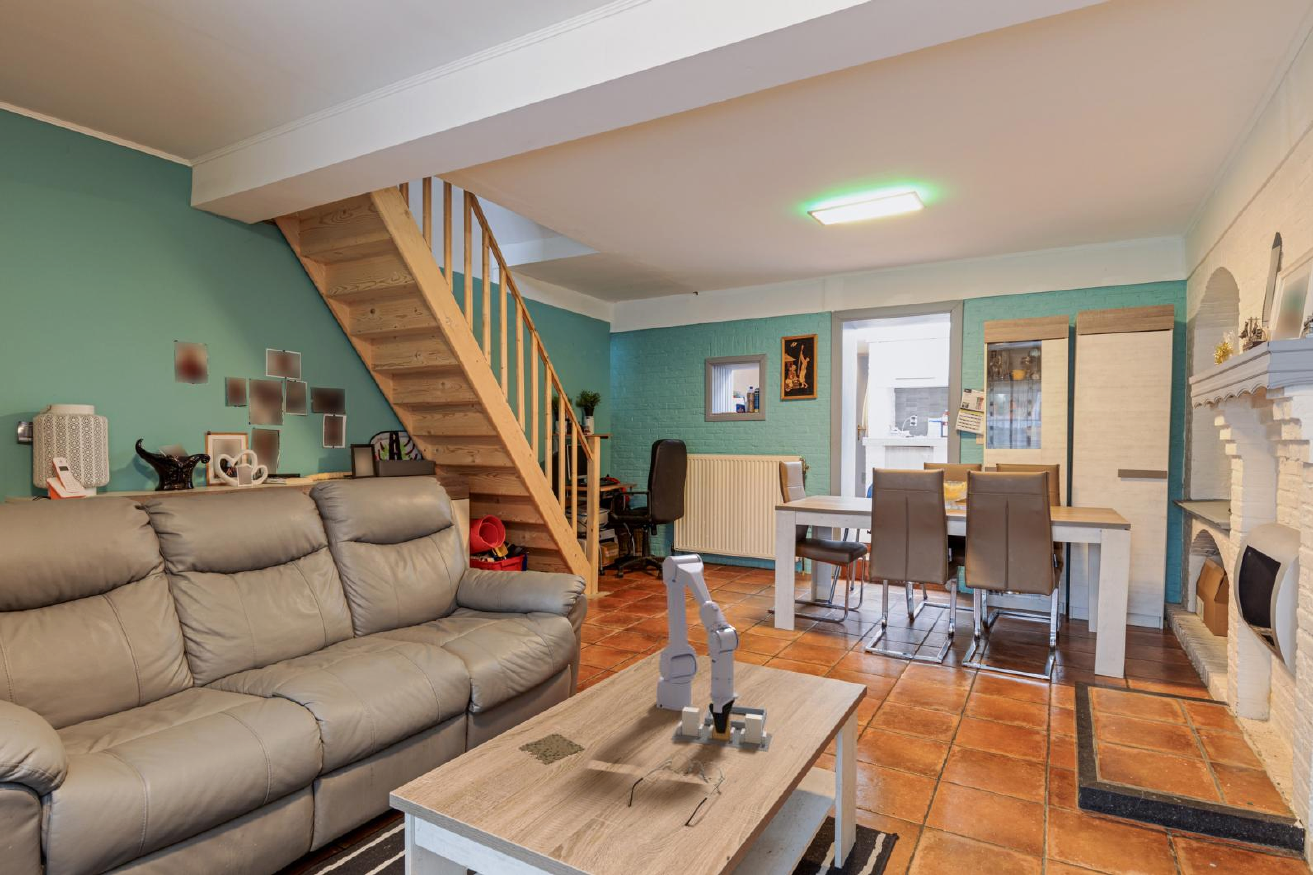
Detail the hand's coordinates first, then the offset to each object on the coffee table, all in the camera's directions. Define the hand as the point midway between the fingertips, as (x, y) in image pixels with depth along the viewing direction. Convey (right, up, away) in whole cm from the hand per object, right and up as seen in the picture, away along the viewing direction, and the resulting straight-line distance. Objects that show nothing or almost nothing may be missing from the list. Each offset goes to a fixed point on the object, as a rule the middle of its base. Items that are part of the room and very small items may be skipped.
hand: (721, 729), depth 174 cm
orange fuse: (0, -2, 0) cm, 2 cm away
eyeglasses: (-12, -4, -25) cm, 28 cm away
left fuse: (-8, -2, +2) cm, 8 cm away
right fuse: (+8, -2, -2) cm, 8 cm away
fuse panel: (0, -3, 0) cm, 3 cm away
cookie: (-42, -4, -4) cm, 43 cm away
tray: (+5, -3, +11) cm, 12 cm away
